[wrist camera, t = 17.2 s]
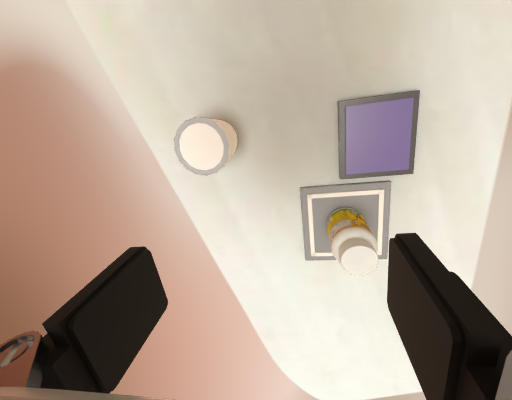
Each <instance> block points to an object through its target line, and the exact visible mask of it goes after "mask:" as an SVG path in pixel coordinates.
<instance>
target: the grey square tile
mask: <svg viewBox="0 0 512 400" xmlns="http://www.w3.org/2000/svg"><path fill="white" fill-rule="evenodd" d="M300 192H301V205H302V219H303V232H304V246H305V259H306V260H336V259H335V257H334V256H333V254H332V251H331V247H330V242H329V237H328V233H327V228H326V222H327V219H328V217H329V215H330V214H331V213H332V212H334V211H335V210H337V209H340V208H351V209H354V210H357V211H358V212H360V213H361V215H362V216H363V217H364V219H365V221H366V223H367V224H368V226H369V228H370V230H371V232H372V233H373V235H374V236H375V238H376V241H377V245H378V250H377V256H378V259H387V253H388V233H389V214H390V194H391V182H390V181H380V182H366V183H353V184H340V185H326V186H313V187H300Z"/></svg>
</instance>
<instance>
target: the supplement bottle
mask: <svg viewBox="0 0 512 400" xmlns="http://www.w3.org/2000/svg"><path fill="white" fill-rule="evenodd" d="M326 228H327V233H328V237H329V242H330V247H331V251H332V254H333V256H334V257H335V259H336V260H337V261H338V262H340V263H341V266H342V268H343V269H344V270H345V271H346V272H347V273H349V274H351V275H354V276H364V275H367V274H369V273H371V272H373V271H374V270H375V269H376V267H377V265H378V256H377V250H378V245H377V241H376V238H375V236H374V235H373V233H372V232H371V230H370V228H369V226H368V224H367V223H366V221H365V219H364V217H363V216H362V215H361V213H360V212H358V211H357V210H354V209H351V208H340V209H337V210H335V211H334V212H332V213H331V214H330V215H329V217H328V219H327V222H326Z"/></svg>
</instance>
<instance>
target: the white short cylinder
mask: <svg viewBox="0 0 512 400" xmlns="http://www.w3.org/2000/svg"><path fill="white" fill-rule="evenodd" d="M174 143H175V152H176V154H177V157H178V159H179V161H180V162H181V163H182V164H183V166H184V167H185V168H186V169H188V170H189V171H191V172H193V173H195V174H199V175H206V176H207V175H210V174H213V173H216V172H218V171H219V170H220V169H221V168H222V167H223V166H224V165H225V164H226V163H227V162H228V160H229V159H230V158H231V156H232V155H233V154H234V152H235V150H236V148H237V143H238V138H237V135H236V132H235V130H234V129H233V127H232V126H231V125H230V124H229V123H227V122H225V121H223V120H216V119H210V118H201V117H194V118H192V119H189V120H186V121H185V122H184V123H183V124H182V125H181V126H180V127H179V128H178V130H177V133H176V135H175V138H174Z"/></svg>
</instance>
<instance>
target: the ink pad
mask: <svg viewBox="0 0 512 400" xmlns="http://www.w3.org/2000/svg"><path fill="white" fill-rule="evenodd" d="M419 95H420V90H418V91H411V92H403V93H396V94H389V95H382V96H374V97H367V98H360V99H353V100H345V101H338V125H339V174H340V179H352V178H365V177H377V176H390V175H403V174H413V170H414V157H415V145H416V132H417V120H418V107H419Z"/></svg>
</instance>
